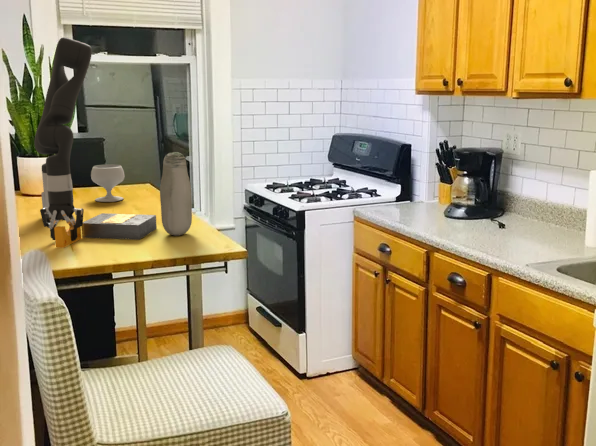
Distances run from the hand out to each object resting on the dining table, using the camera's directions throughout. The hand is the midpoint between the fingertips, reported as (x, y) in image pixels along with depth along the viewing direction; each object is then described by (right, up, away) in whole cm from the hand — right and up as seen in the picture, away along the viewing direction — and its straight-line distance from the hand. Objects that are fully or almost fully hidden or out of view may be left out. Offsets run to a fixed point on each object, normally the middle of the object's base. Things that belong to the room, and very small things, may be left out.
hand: (64, 239), depth 208 cm
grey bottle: (+34, +1, +11) cm, 36 cm away
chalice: (-7, +15, +73) cm, 75 cm away
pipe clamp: (+1, -1, 0) cm, 1 cm away
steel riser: (+15, +2, +13) cm, 20 cm away
